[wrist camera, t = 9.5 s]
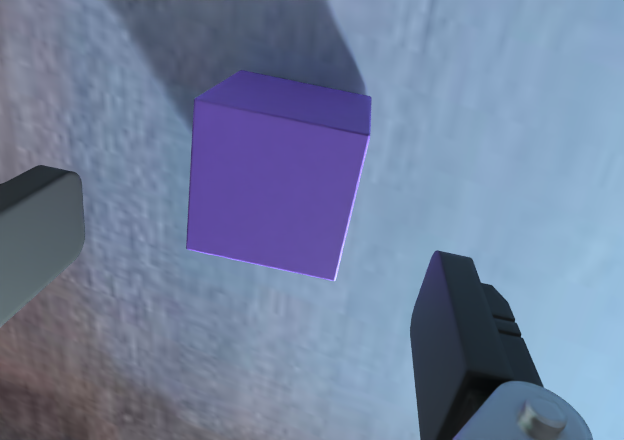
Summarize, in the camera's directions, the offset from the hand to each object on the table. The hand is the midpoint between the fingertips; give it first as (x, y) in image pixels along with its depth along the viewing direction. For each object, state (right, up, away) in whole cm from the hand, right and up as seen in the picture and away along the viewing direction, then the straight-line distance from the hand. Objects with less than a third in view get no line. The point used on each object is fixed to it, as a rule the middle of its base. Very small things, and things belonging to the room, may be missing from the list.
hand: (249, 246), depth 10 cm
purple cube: (+1, +3, +6) cm, 7 cm away
